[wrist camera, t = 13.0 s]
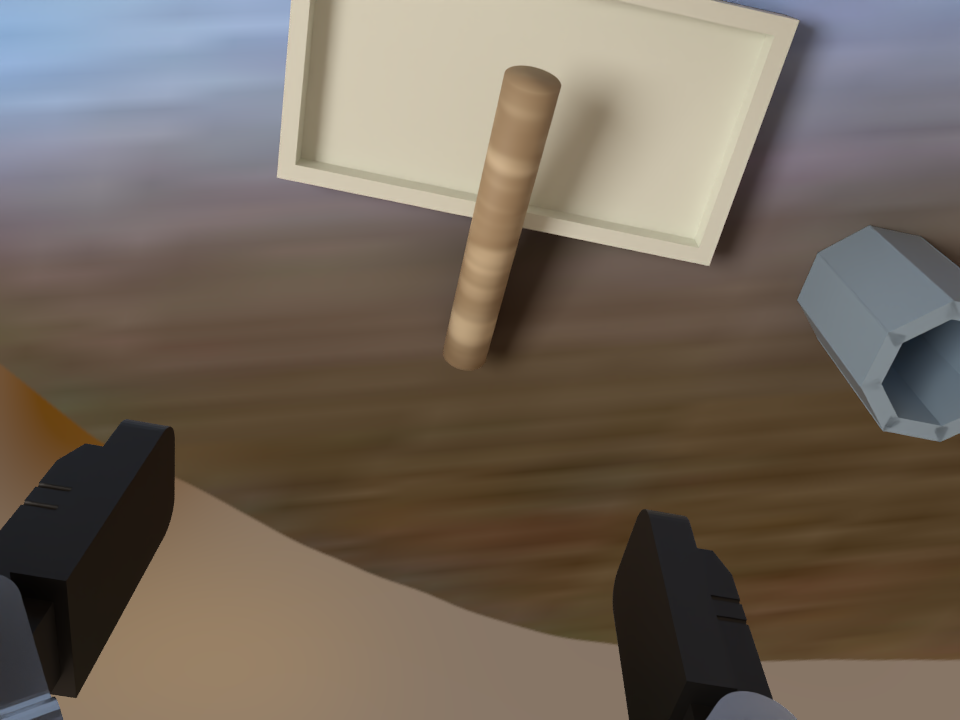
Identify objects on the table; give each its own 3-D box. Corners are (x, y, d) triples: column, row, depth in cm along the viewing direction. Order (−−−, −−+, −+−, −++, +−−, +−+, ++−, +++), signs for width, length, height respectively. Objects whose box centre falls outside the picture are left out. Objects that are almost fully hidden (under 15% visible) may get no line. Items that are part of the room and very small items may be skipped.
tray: (309, -94, 35) (298, -94, 33) (785, 14, 37) (799, 20, 35) (287, 165, 41) (277, 177, 39) (701, 250, 42) (709, 265, 41)
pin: (504, 71, 32) (430, 401, 40) (563, 85, 32) (477, 411, 40) (511, 46, 37) (444, 343, 46) (562, 58, 37) (486, 353, 46)
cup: (832, 217, 41) (908, 291, 33) (956, 243, 42) (1059, 321, 34) (783, 331, 44) (841, 423, 37) (898, 354, 45) (980, 449, 37)
